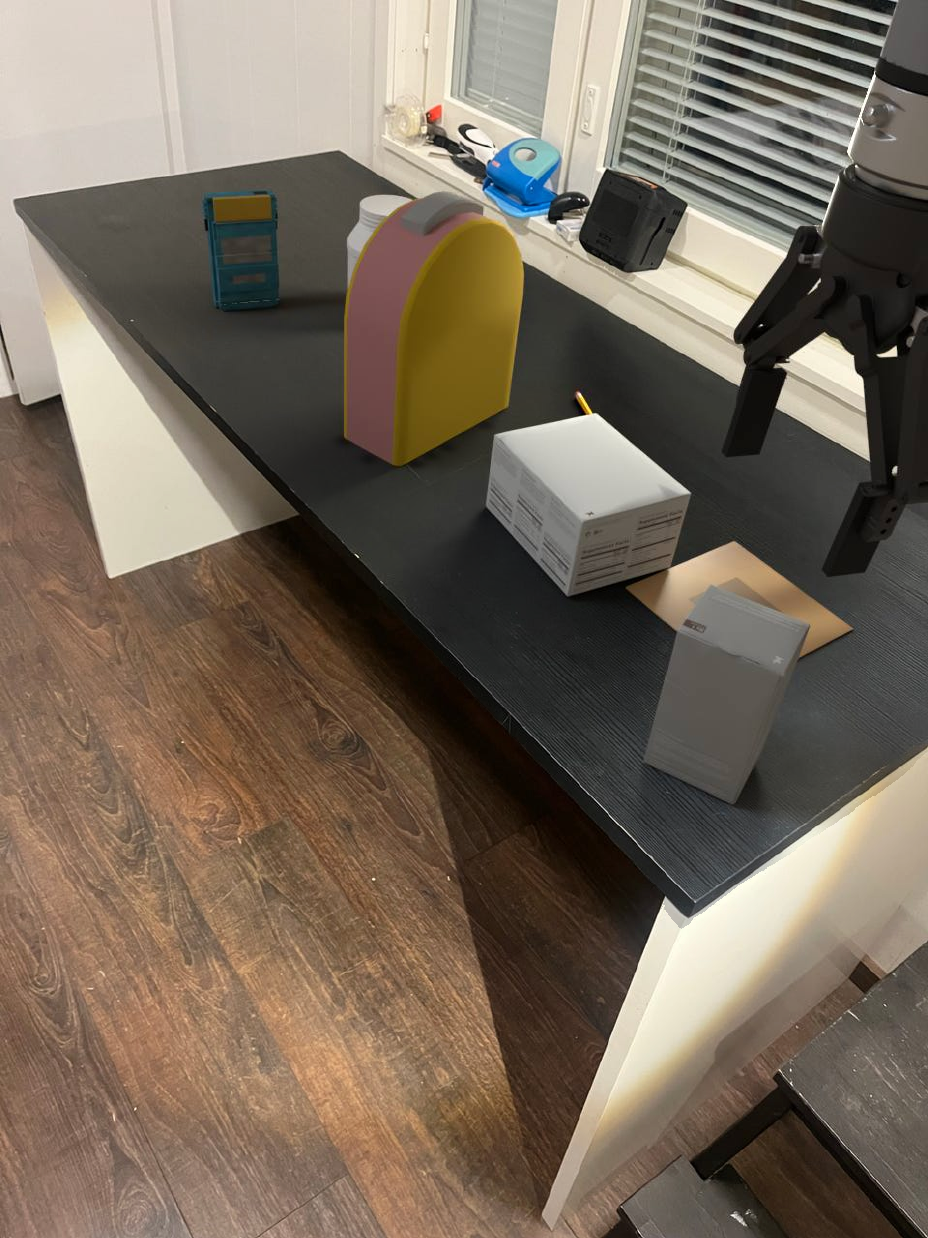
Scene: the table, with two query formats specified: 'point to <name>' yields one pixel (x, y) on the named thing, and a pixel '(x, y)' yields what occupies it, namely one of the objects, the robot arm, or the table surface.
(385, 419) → the lunch box
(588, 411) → the pencil
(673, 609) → the cork mat
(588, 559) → the supplement box
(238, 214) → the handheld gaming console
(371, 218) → the jar
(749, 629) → the cosmetic box
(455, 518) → the table surface
